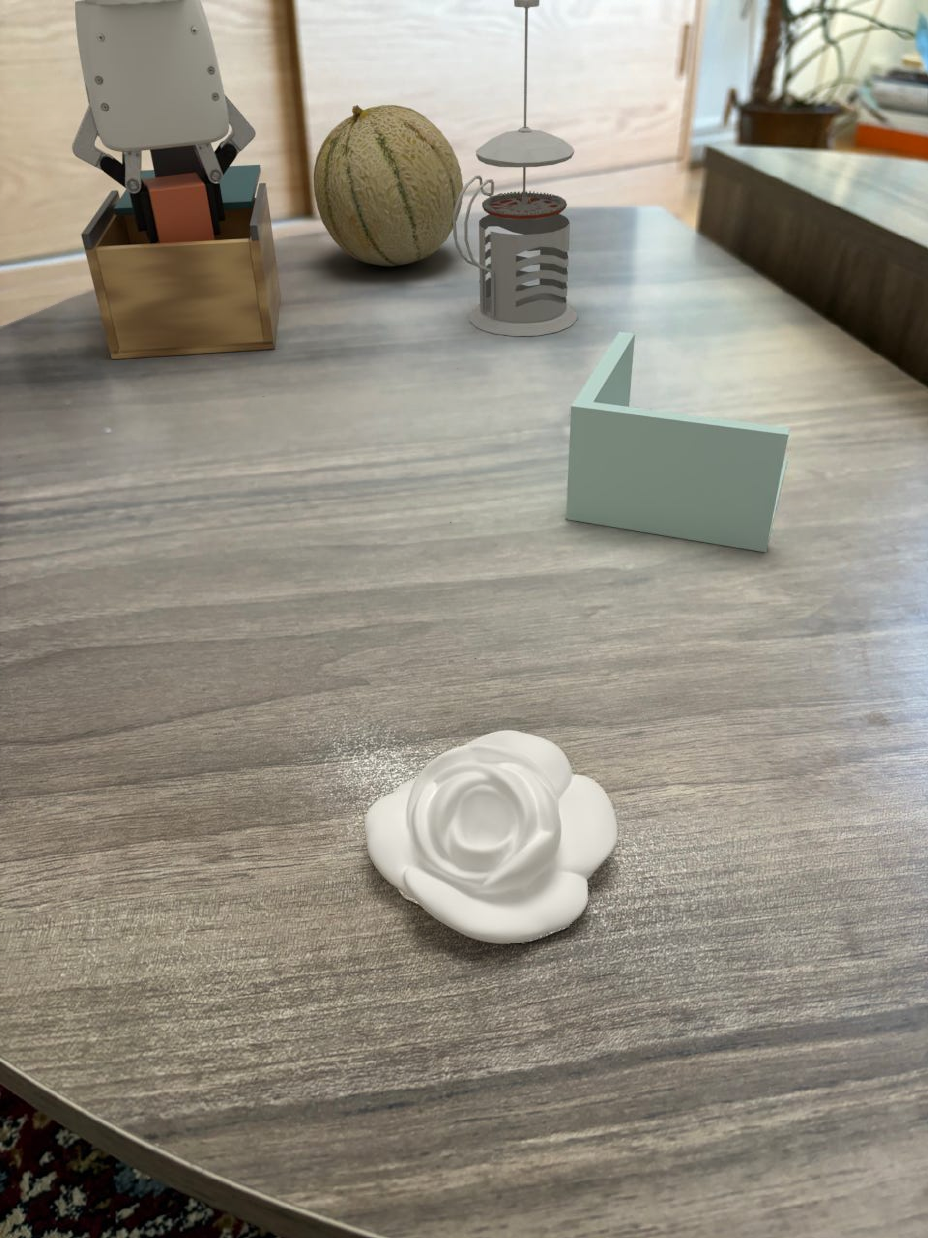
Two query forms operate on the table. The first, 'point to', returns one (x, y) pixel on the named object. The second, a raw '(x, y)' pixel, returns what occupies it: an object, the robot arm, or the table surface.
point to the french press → (521, 236)
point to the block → (180, 208)
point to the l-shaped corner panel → (669, 465)
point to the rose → (495, 837)
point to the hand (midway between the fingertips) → (183, 232)
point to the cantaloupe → (387, 185)
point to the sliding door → (183, 160)
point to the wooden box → (185, 285)
